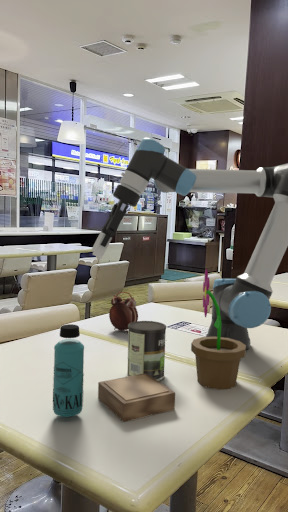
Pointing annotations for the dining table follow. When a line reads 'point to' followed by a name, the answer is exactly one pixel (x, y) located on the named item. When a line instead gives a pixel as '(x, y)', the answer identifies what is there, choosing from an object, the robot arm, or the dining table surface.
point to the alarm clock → (123, 312)
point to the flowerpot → (216, 352)
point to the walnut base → (136, 396)
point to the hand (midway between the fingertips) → (95, 254)
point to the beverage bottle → (68, 373)
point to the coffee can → (146, 349)
